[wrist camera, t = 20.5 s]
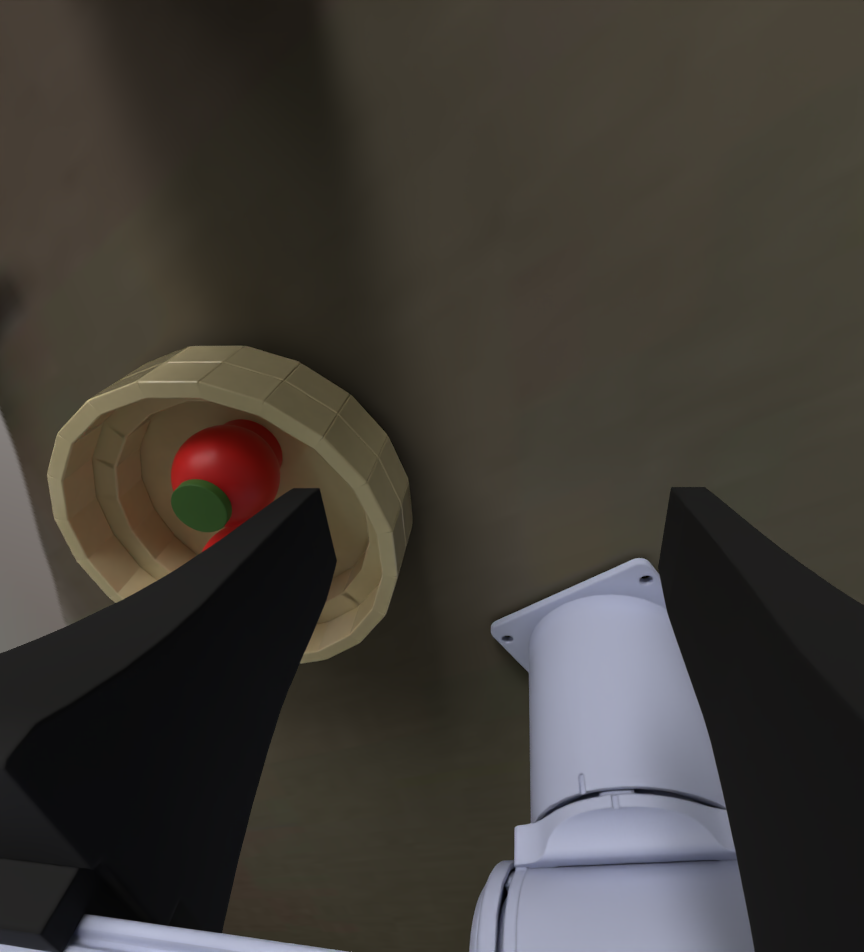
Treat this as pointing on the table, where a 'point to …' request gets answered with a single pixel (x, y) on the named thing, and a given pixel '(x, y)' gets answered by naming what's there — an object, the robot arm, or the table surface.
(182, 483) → the strawberry
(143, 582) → the bowl
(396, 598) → the table surface
